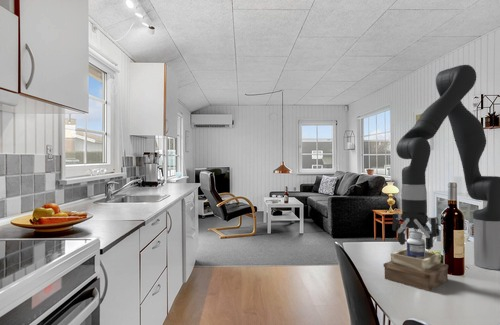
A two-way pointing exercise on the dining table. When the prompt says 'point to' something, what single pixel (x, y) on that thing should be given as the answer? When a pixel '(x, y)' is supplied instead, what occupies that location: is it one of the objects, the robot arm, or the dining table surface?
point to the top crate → (415, 260)
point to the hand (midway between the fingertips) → (415, 246)
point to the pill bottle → (416, 245)
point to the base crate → (417, 276)
